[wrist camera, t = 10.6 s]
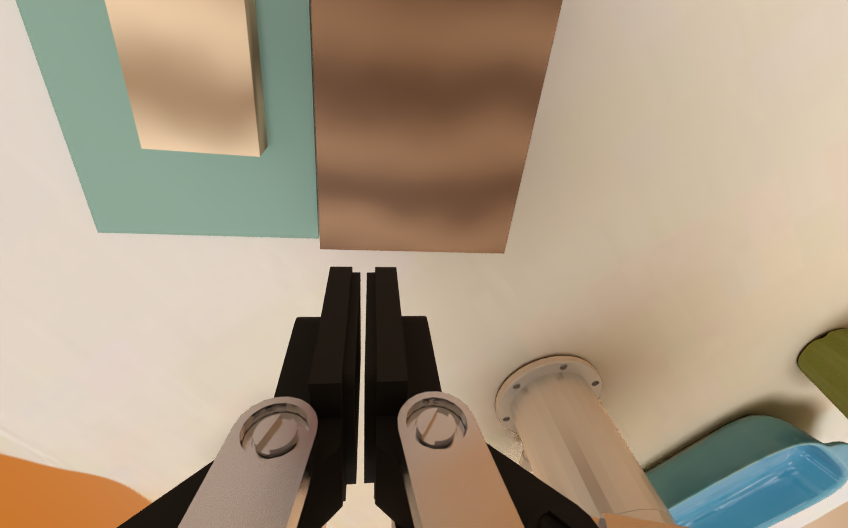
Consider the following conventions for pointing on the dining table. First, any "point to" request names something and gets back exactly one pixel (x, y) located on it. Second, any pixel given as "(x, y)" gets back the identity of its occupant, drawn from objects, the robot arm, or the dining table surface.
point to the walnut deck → (425, 119)
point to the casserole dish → (749, 475)
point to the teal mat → (176, 170)
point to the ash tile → (192, 74)
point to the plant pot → (829, 367)
